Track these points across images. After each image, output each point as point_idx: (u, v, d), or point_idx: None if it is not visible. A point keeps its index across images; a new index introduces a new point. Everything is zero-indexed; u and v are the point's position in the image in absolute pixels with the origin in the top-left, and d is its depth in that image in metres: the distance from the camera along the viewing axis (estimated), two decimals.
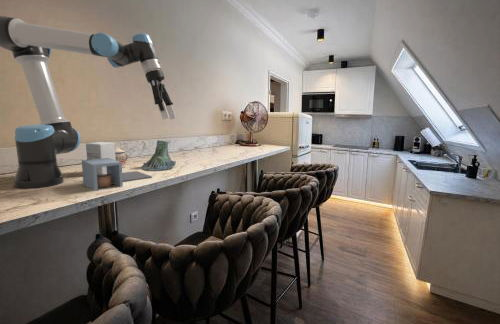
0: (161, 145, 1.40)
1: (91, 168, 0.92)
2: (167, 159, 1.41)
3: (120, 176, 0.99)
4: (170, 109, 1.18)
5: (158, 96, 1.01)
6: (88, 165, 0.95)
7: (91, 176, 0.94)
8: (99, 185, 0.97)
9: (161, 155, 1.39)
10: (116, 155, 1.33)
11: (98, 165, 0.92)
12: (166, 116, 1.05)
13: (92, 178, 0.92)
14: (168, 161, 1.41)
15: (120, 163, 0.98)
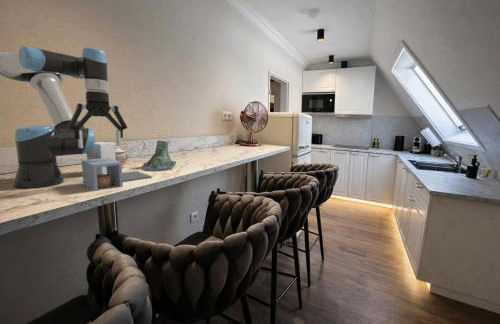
0: (161, 145, 1.39)
1: (91, 168, 0.92)
2: (167, 159, 1.40)
3: (120, 176, 0.99)
4: (117, 135, 1.02)
5: (70, 123, 0.89)
6: (88, 165, 0.95)
7: (91, 176, 0.94)
8: (99, 185, 0.97)
9: (161, 155, 1.39)
10: (116, 155, 1.33)
11: (98, 165, 0.92)
12: (80, 146, 0.92)
13: (92, 178, 0.92)
14: (168, 161, 1.41)
15: (120, 163, 0.98)
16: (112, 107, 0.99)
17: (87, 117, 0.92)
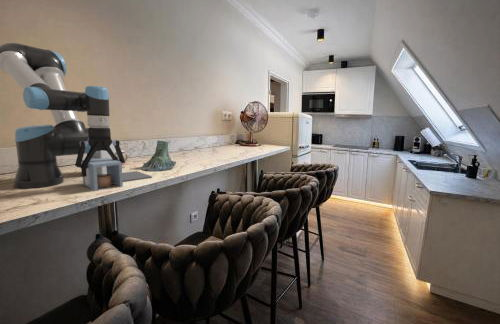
0: (161, 145, 1.39)
1: (91, 168, 0.92)
2: (167, 159, 1.40)
3: (120, 176, 0.99)
4: None
5: (77, 162, 0.92)
6: (88, 165, 0.95)
7: (91, 176, 0.94)
8: (99, 185, 0.97)
9: (161, 155, 1.39)
10: (116, 155, 1.33)
11: (98, 165, 0.92)
12: (86, 182, 0.96)
13: (92, 177, 0.92)
14: (168, 161, 1.40)
15: (120, 163, 0.98)
16: (114, 141, 1.01)
17: (91, 154, 0.95)
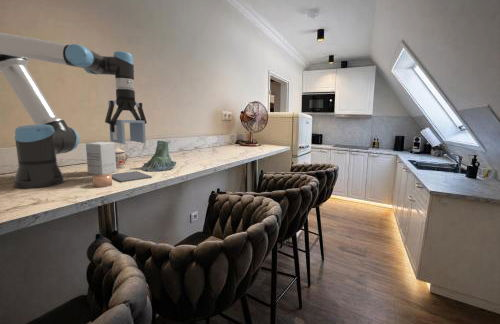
0: (161, 145, 1.38)
1: (120, 124, 1.05)
2: (167, 159, 1.39)
3: (143, 133, 1.11)
4: None
5: (107, 118, 1.05)
6: (116, 122, 1.07)
7: (119, 131, 1.06)
8: (99, 185, 0.97)
9: (161, 155, 1.38)
10: (116, 155, 1.33)
11: (125, 121, 1.05)
12: (114, 138, 1.08)
13: (120, 132, 1.05)
14: (168, 161, 1.40)
15: (143, 121, 1.11)
16: (137, 103, 1.14)
17: (119, 112, 1.08)
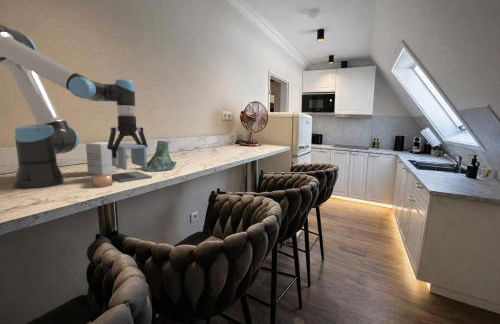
0: (161, 145, 1.38)
1: (121, 150, 1.07)
2: (167, 160, 1.39)
3: (145, 158, 1.13)
4: None
5: (109, 145, 1.07)
6: (118, 148, 1.09)
7: (121, 157, 1.08)
8: (99, 185, 0.97)
9: (161, 155, 1.38)
10: None
11: (127, 147, 1.07)
12: (116, 163, 1.11)
13: (122, 158, 1.07)
14: (168, 162, 1.39)
15: (145, 146, 1.13)
16: (138, 128, 1.16)
17: (120, 138, 1.10)
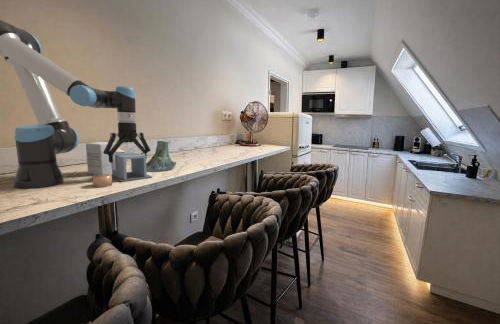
0: (161, 145, 1.37)
1: (121, 160, 1.08)
2: (167, 160, 1.38)
3: (145, 167, 1.14)
4: None
5: (106, 150, 1.07)
6: (118, 158, 1.10)
7: (121, 167, 1.09)
8: (99, 185, 0.97)
9: (161, 156, 1.37)
10: None
11: (127, 157, 1.08)
12: (113, 168, 1.10)
13: (122, 168, 1.08)
14: (168, 162, 1.39)
15: (145, 156, 1.13)
16: (138, 134, 1.17)
17: (119, 144, 1.10)
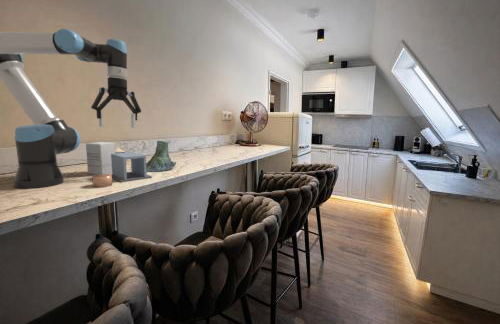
0: (161, 146, 1.37)
1: (121, 160, 1.08)
2: (167, 160, 1.38)
3: (145, 167, 1.14)
4: (132, 117, 1.15)
5: (94, 104, 1.02)
6: (118, 158, 1.10)
7: (121, 167, 1.09)
8: (99, 185, 0.97)
9: (161, 156, 1.37)
10: None
11: (127, 157, 1.08)
12: (101, 124, 1.05)
13: (122, 168, 1.08)
14: (168, 162, 1.38)
15: (145, 156, 1.13)
16: (129, 92, 1.12)
17: (108, 100, 1.05)
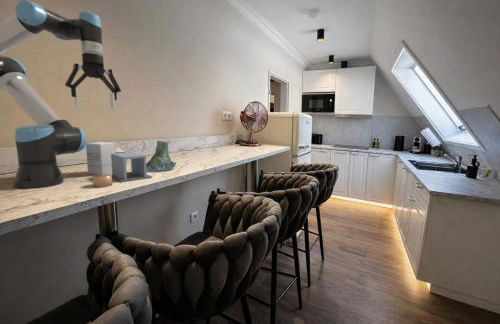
0: (161, 146, 1.37)
1: (121, 160, 1.08)
2: (167, 160, 1.37)
3: (145, 167, 1.14)
4: (111, 97, 1.09)
5: (67, 81, 0.96)
6: (118, 158, 1.10)
7: (121, 167, 1.09)
8: (99, 185, 0.97)
9: (161, 156, 1.36)
10: None
11: (127, 157, 1.08)
12: (76, 103, 1.00)
13: (122, 168, 1.08)
14: (168, 162, 1.38)
15: (145, 156, 1.13)
16: (107, 70, 1.06)
17: (83, 77, 1.00)
